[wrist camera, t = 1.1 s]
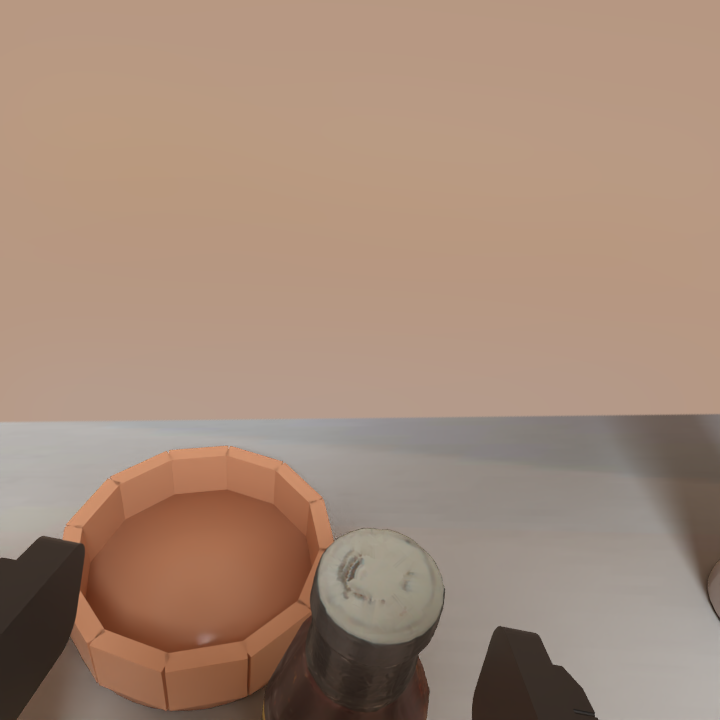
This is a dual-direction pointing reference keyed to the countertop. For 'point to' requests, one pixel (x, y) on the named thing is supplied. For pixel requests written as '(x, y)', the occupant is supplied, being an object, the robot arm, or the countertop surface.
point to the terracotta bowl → (195, 575)
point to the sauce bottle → (362, 634)
